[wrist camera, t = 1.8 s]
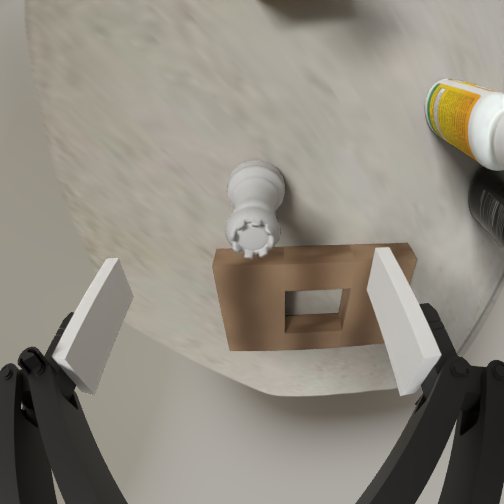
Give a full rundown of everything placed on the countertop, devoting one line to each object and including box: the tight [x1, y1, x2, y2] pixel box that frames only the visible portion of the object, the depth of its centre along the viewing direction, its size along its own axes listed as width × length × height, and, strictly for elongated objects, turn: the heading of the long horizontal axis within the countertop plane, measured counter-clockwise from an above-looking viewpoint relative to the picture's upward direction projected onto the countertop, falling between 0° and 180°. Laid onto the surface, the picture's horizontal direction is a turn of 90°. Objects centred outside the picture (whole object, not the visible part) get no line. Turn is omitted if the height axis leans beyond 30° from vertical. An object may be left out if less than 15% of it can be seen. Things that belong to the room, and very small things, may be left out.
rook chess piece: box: [225, 160, 285, 259], centre depth 20 cm, size 4×4×8 cm
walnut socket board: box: [212, 243, 417, 351], centre depth 29 cm, size 18×12×2 cm, turn 94°
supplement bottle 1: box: [425, 79, 504, 171], centre depth 14 cm, size 5×5×10 cm
